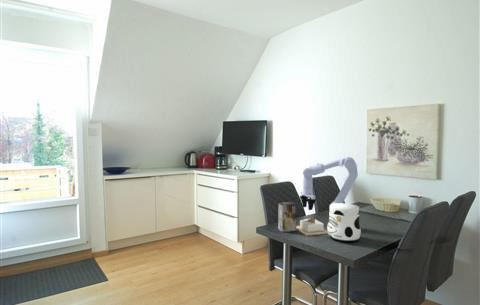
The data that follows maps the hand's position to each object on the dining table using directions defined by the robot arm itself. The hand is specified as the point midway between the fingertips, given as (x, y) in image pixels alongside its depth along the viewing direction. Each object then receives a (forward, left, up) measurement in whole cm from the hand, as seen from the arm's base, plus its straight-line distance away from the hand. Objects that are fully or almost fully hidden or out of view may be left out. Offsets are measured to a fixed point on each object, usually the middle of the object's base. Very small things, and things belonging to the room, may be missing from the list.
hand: (307, 208), depth 194 cm
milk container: (-6, +29, -11) cm, 32 cm away
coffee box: (+17, +7, -11) cm, 21 cm away
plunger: (+3, +11, -9) cm, 14 cm away
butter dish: (+3, +11, -10) cm, 15 cm away
